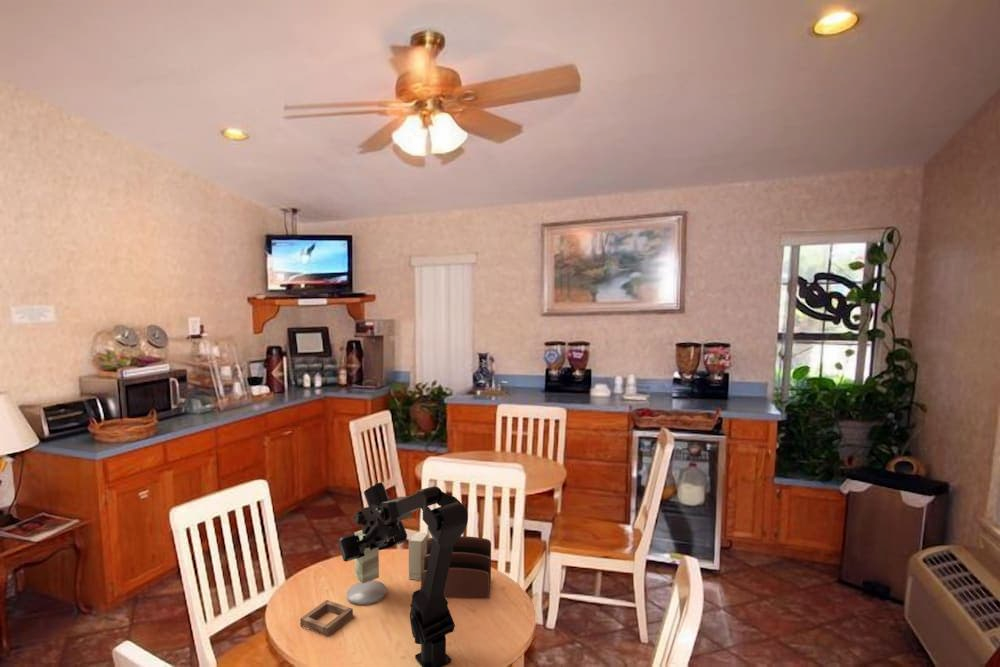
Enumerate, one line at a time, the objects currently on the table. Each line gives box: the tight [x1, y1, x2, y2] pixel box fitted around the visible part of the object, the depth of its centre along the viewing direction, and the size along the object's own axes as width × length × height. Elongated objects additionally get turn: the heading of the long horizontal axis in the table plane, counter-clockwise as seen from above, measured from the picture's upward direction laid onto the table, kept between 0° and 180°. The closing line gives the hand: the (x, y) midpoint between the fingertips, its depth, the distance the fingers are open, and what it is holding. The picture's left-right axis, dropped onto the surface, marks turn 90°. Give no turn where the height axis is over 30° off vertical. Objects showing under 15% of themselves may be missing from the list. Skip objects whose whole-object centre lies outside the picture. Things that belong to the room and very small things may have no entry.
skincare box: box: [408, 531, 429, 581], centre depth 152 cm, size 6×4×12 cm
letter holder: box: [420, 535, 492, 599], centre depth 144 cm, size 10×20×14 cm, turn 88°
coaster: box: [346, 580, 387, 606], centre depth 141 cm, size 11×11×1 cm
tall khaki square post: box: [353, 529, 380, 584], centre depth 141 cm, size 5×5×13 cm
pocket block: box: [299, 599, 354, 637], centre depth 129 cm, size 9×9×2 cm
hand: (364, 552), depth 142 cm, fingers closed on tall khaki square post, 5 cm apart
